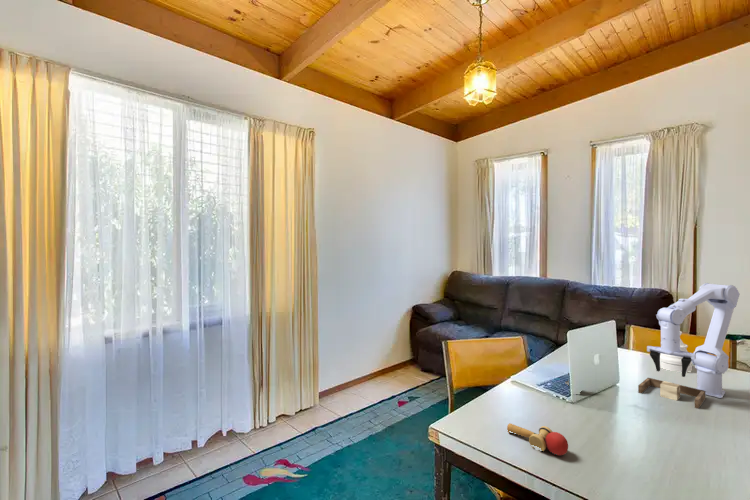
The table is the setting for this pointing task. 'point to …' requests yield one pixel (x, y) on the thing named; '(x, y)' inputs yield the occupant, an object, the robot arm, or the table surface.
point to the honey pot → (674, 360)
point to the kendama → (543, 439)
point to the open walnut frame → (683, 390)
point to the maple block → (670, 390)
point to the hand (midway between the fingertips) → (670, 373)
